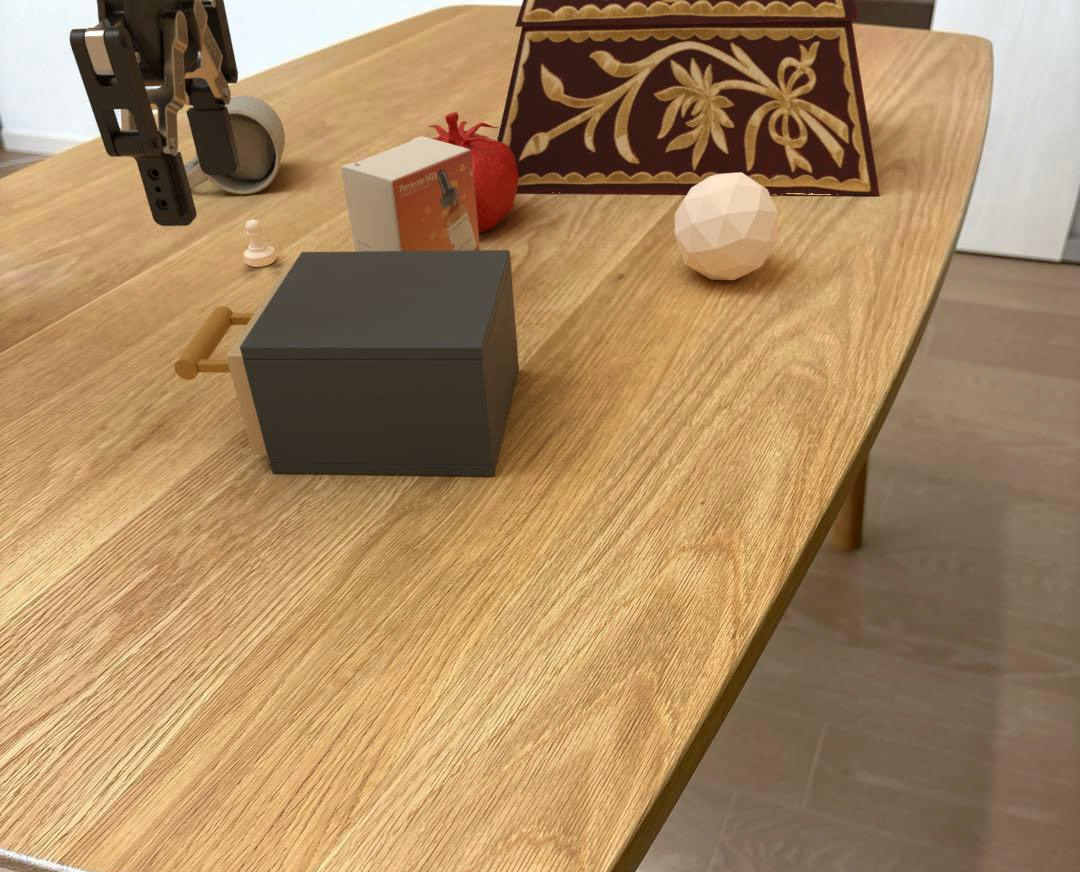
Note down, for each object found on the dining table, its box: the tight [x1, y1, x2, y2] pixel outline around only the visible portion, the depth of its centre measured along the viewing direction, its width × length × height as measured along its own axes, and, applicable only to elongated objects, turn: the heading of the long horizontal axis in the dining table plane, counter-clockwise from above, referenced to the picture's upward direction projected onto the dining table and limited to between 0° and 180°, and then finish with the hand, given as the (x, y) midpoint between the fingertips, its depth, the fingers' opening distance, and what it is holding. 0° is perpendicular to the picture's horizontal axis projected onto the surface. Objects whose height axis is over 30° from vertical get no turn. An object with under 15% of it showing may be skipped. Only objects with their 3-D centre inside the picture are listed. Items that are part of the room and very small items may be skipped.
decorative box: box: [496, 0, 881, 197], centre depth 97 cm, size 35×19×20 cm, turn 81°
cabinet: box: [240, 249, 520, 477], centre depth 66 cm, size 14×13×9 cm
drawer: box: [173, 268, 291, 456], centre depth 66 cm, size 17×11×7 cm
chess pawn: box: [243, 219, 277, 268], centre depth 88 cm, size 3×3×4 cm
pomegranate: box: [427, 111, 519, 233], centre depth 91 cm, size 10×10×9 cm
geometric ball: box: [674, 172, 779, 281], centre depth 80 cm, size 8×8×8 cm
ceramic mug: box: [184, 94, 286, 195], centre depth 102 cm, size 11×8×8 cm
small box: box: [340, 135, 481, 252], centre depth 79 cm, size 8×6×10 cm
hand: (200, 196), depth 61 cm, fingers open, 7 cm apart
